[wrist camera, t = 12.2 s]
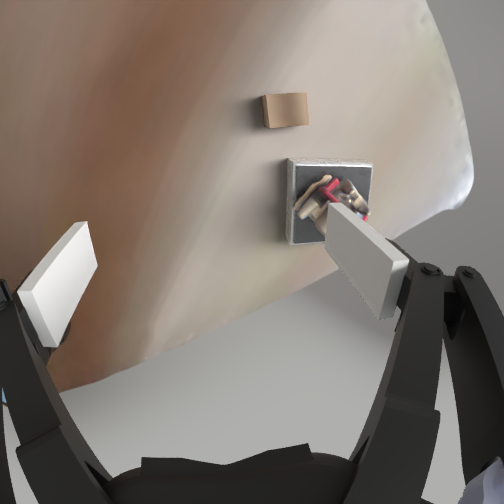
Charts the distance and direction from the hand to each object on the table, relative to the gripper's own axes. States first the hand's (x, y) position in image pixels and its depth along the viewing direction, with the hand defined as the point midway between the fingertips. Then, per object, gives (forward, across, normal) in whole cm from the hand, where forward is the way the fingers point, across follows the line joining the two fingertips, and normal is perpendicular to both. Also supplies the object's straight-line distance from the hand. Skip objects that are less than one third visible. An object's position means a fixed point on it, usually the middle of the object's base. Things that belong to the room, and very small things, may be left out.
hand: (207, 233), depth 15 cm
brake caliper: (+29, +20, -9) cm, 36 cm away
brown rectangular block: (+33, +12, +6) cm, 36 cm away
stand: (+33, +20, -9) cm, 39 cm away
